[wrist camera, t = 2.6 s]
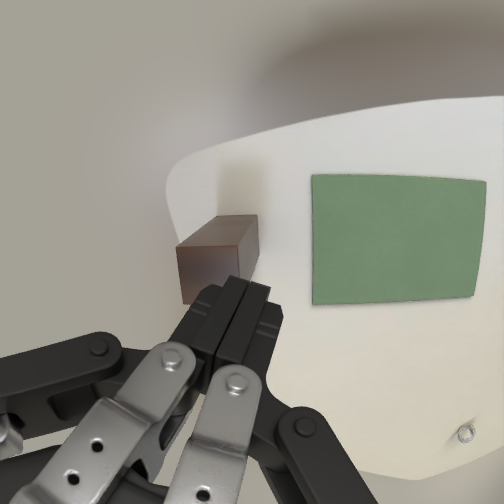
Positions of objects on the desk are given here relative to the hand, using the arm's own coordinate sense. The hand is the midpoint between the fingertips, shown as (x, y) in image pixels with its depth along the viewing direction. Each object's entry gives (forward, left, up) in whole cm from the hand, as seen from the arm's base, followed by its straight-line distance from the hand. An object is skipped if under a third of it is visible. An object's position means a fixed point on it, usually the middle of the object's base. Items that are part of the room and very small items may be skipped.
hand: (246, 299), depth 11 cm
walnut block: (+4, -5, -19) cm, 20 cm away
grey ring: (+43, +37, -26) cm, 62 cm away
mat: (+5, +16, -26) cm, 31 cm away
